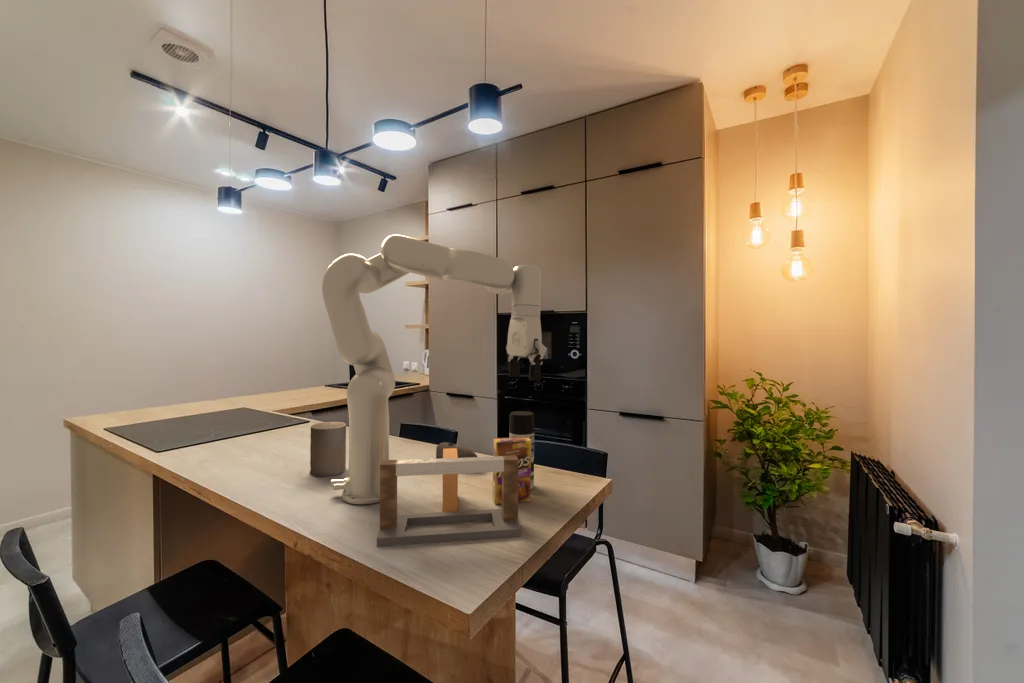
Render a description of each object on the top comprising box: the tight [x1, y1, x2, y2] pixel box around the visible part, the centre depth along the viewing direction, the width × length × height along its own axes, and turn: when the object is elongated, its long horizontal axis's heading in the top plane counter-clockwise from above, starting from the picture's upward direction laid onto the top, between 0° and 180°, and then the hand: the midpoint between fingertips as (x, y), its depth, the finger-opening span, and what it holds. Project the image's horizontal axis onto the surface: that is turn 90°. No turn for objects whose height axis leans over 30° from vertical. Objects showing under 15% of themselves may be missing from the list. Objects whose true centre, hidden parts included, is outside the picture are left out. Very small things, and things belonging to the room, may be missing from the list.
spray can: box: [508, 410, 535, 491], centre depth 108 cm, size 7×7×20 cm
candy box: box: [491, 437, 531, 505], centre depth 100 cm, size 9×4×15 cm, turn 103°
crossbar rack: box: [376, 455, 522, 547], centre depth 85 cm, size 28×10×14 cm, turn 99°
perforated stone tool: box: [435, 441, 478, 459], centre depth 124 cm, size 15×5×7 cm, turn 59°
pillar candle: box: [309, 420, 347, 478], centre depth 119 cm, size 10×10×15 cm
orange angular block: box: [441, 448, 459, 512], centre depth 97 cm, size 10×3×12 cm, turn 9°
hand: (523, 378), depth 106 cm, fingers open, 9 cm apart
